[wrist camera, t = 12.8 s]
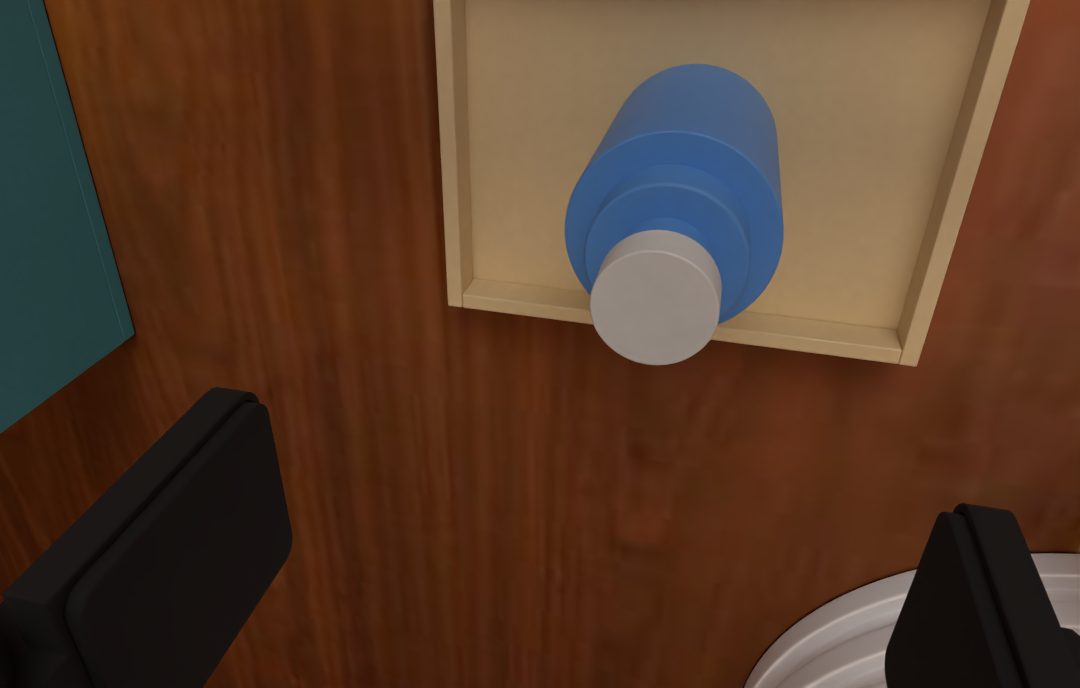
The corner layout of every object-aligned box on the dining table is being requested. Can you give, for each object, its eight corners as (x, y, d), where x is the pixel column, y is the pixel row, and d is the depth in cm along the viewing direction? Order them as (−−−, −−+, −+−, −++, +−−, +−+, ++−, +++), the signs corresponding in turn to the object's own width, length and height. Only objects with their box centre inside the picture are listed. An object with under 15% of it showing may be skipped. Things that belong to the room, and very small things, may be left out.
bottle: (585, 104, 27) (484, 240, 17) (743, 33, 25) (734, 141, 15) (647, 246, 29) (590, 441, 19) (799, 192, 27) (824, 381, 17)
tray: (464, 283, 33) (447, 306, 31) (451, -81, 26) (428, -77, 24) (907, 337, 29) (916, 367, 28) (1025, -62, 23) (1048, -57, 21)
